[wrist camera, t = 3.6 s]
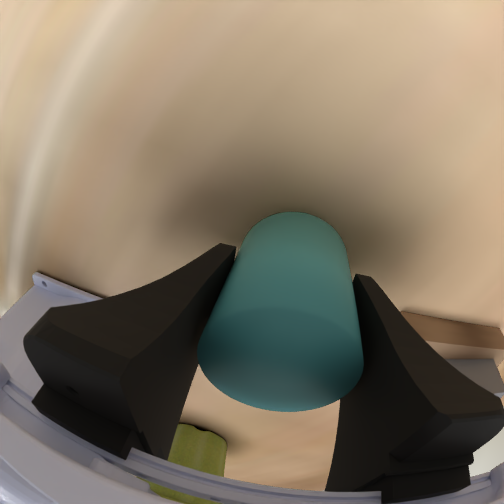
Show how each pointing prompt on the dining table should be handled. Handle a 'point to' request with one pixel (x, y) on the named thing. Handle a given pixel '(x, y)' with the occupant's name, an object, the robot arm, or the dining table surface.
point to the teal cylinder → (285, 319)
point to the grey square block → (481, 373)
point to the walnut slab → (459, 338)
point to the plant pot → (194, 459)
